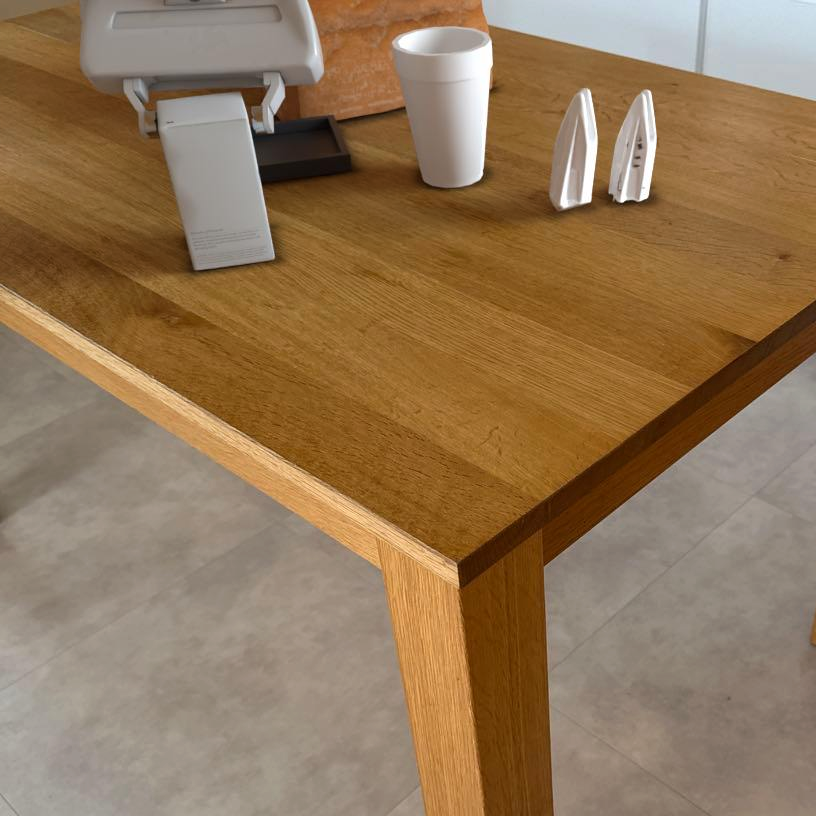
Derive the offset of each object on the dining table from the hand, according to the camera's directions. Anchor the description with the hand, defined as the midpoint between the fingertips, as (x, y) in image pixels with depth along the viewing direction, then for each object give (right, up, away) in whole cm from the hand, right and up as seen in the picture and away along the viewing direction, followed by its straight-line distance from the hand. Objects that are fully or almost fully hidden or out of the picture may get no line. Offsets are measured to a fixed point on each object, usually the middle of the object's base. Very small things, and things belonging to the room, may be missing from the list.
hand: (207, 133), depth 87 cm
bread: (+9, +19, +36) cm, 42 cm away
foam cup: (+20, +3, +18) cm, 27 cm away
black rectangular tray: (+1, +6, +22) cm, 23 cm away
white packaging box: (0, -8, +6) cm, 10 cm away
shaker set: (+34, -3, +11) cm, 36 cm away
